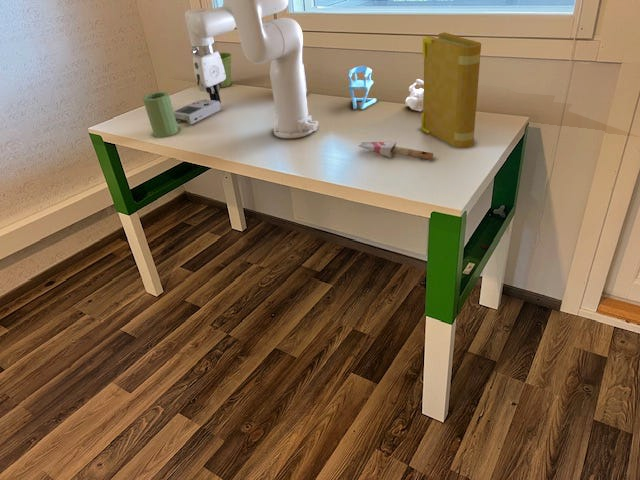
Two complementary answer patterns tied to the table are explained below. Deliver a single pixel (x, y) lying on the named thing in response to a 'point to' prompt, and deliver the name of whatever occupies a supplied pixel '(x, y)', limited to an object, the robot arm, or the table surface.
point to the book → (450, 88)
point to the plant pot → (226, 68)
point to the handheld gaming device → (197, 110)
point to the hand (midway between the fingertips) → (216, 103)
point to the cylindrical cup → (160, 114)
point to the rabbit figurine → (416, 96)
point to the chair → (361, 86)
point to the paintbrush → (394, 150)
